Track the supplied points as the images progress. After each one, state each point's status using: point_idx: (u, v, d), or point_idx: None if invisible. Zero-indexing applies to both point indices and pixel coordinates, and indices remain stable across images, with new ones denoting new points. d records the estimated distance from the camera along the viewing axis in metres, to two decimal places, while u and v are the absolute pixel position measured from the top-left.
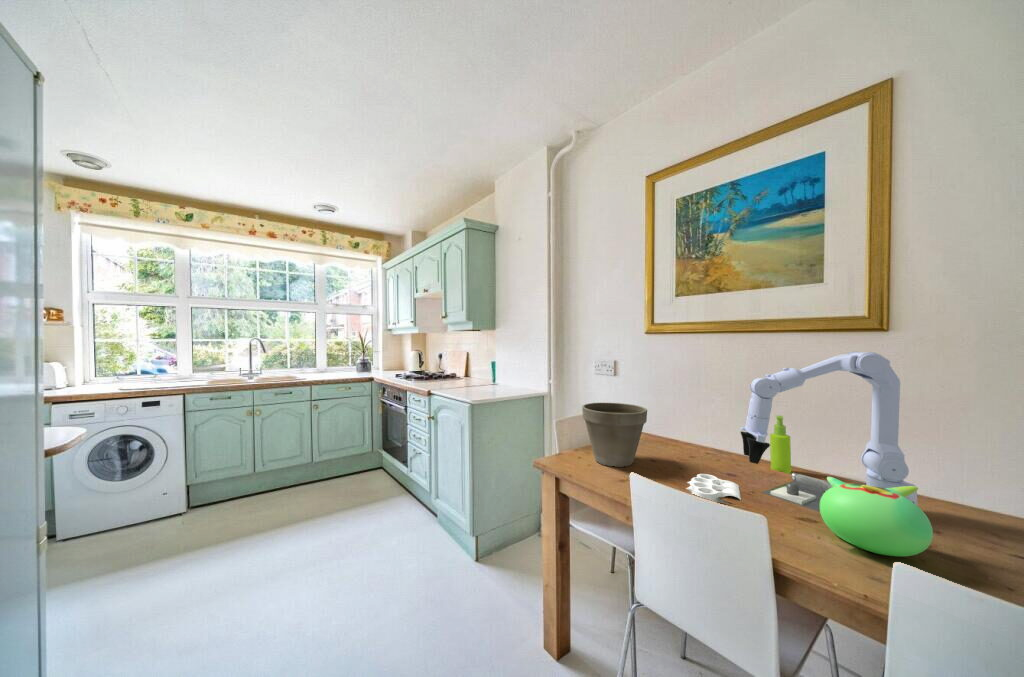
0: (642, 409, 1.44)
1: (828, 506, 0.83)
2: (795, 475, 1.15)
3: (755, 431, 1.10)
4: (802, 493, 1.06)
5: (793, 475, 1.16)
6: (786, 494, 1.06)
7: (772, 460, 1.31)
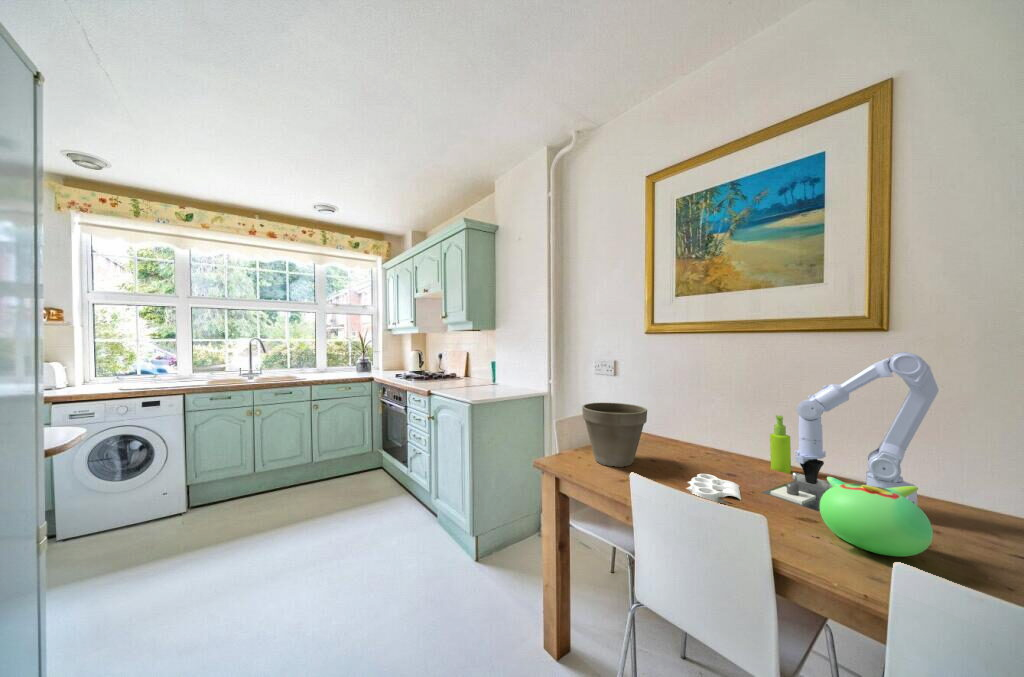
0: (642, 409, 1.44)
1: (828, 506, 0.83)
2: (796, 475, 1.15)
3: (803, 453, 1.11)
4: (802, 493, 1.06)
5: (794, 475, 1.16)
6: (786, 494, 1.06)
7: (772, 460, 1.31)
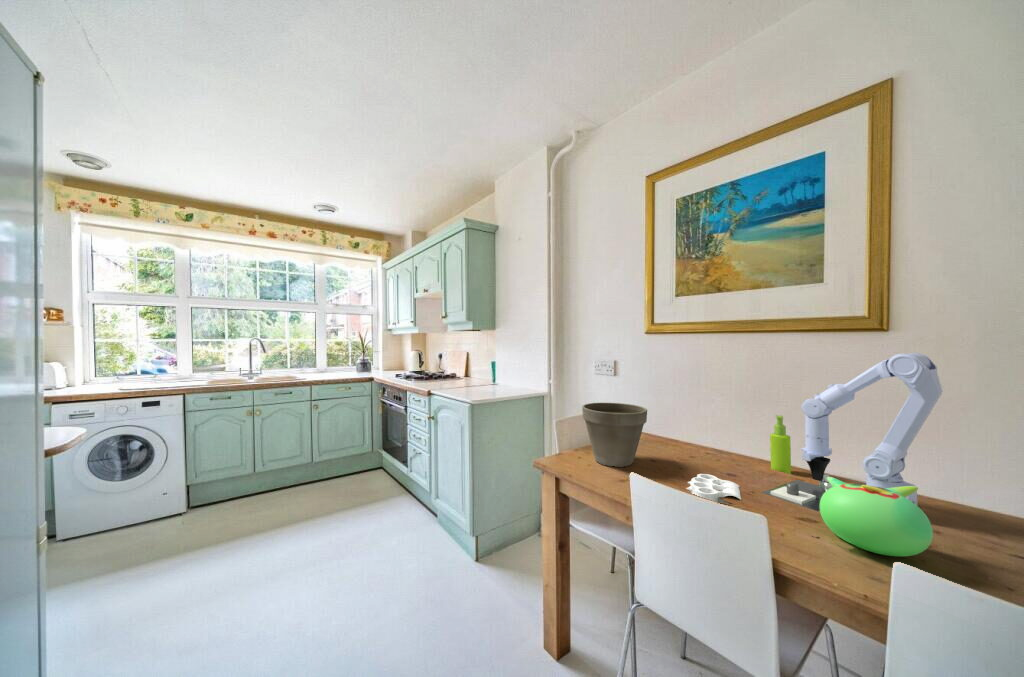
0: (642, 409, 1.44)
1: (828, 506, 0.83)
2: None
3: (810, 451, 1.13)
4: (802, 493, 1.06)
5: None
6: (786, 494, 1.06)
7: (772, 460, 1.31)
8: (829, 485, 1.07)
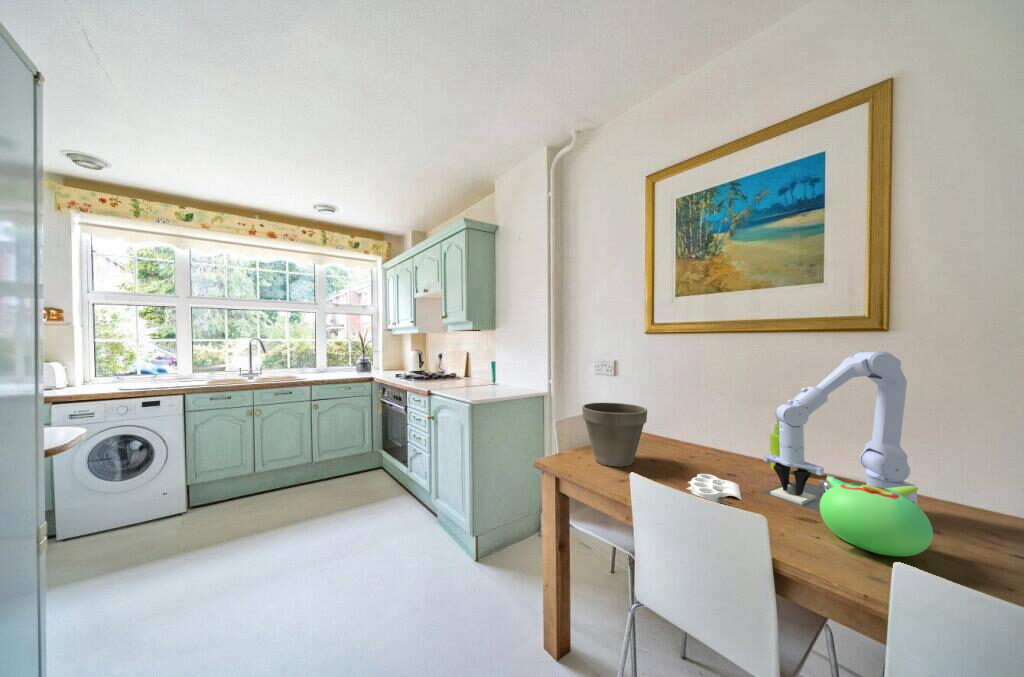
0: (642, 409, 1.44)
1: (828, 506, 0.83)
2: None
3: (802, 463, 1.04)
4: None
5: (827, 475, 1.15)
6: (786, 494, 1.06)
7: None
8: (828, 485, 1.07)
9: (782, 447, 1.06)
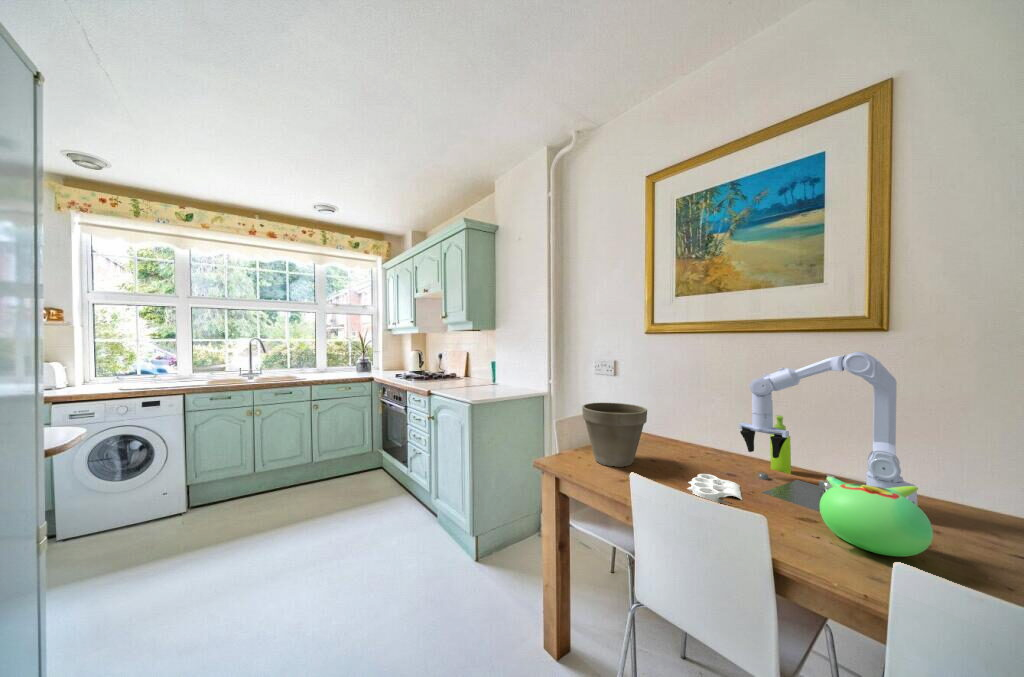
0: (642, 409, 1.44)
1: (828, 506, 0.83)
2: None
3: (770, 428, 1.18)
4: None
5: (827, 475, 1.15)
6: None
7: (772, 460, 1.31)
8: (828, 485, 1.07)
9: (754, 415, 1.21)
